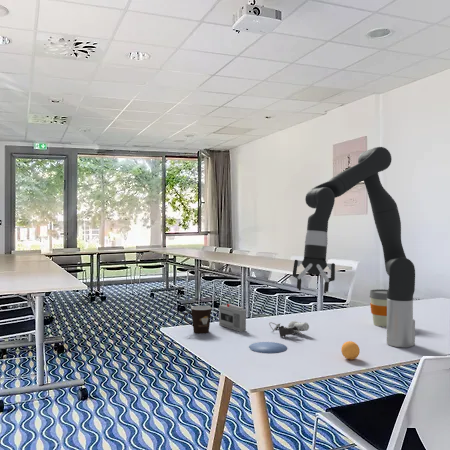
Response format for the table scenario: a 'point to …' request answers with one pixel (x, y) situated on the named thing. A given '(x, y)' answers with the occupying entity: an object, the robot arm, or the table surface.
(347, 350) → the ball
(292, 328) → the clip-on lamp
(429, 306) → the table surface
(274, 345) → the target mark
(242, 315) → the cassette player
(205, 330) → the coffee mug
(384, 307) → the reusable coffee cup
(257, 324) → the table surface
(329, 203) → the robot arm
